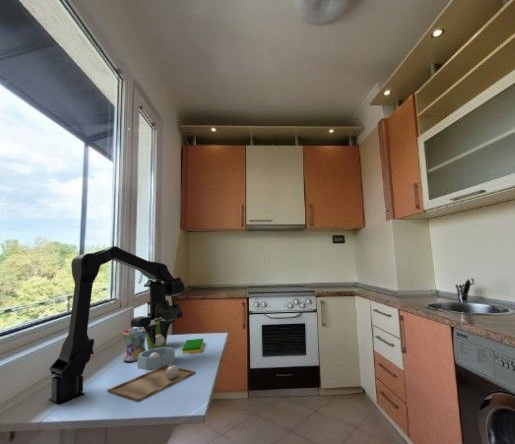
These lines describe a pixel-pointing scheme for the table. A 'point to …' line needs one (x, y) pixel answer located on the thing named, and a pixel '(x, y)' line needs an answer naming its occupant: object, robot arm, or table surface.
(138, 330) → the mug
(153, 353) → the white ball
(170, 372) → the pebble
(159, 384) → the tray
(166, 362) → the bowl
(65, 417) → the table surface
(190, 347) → the dish sponge
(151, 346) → the plant pot
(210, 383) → the table surface
